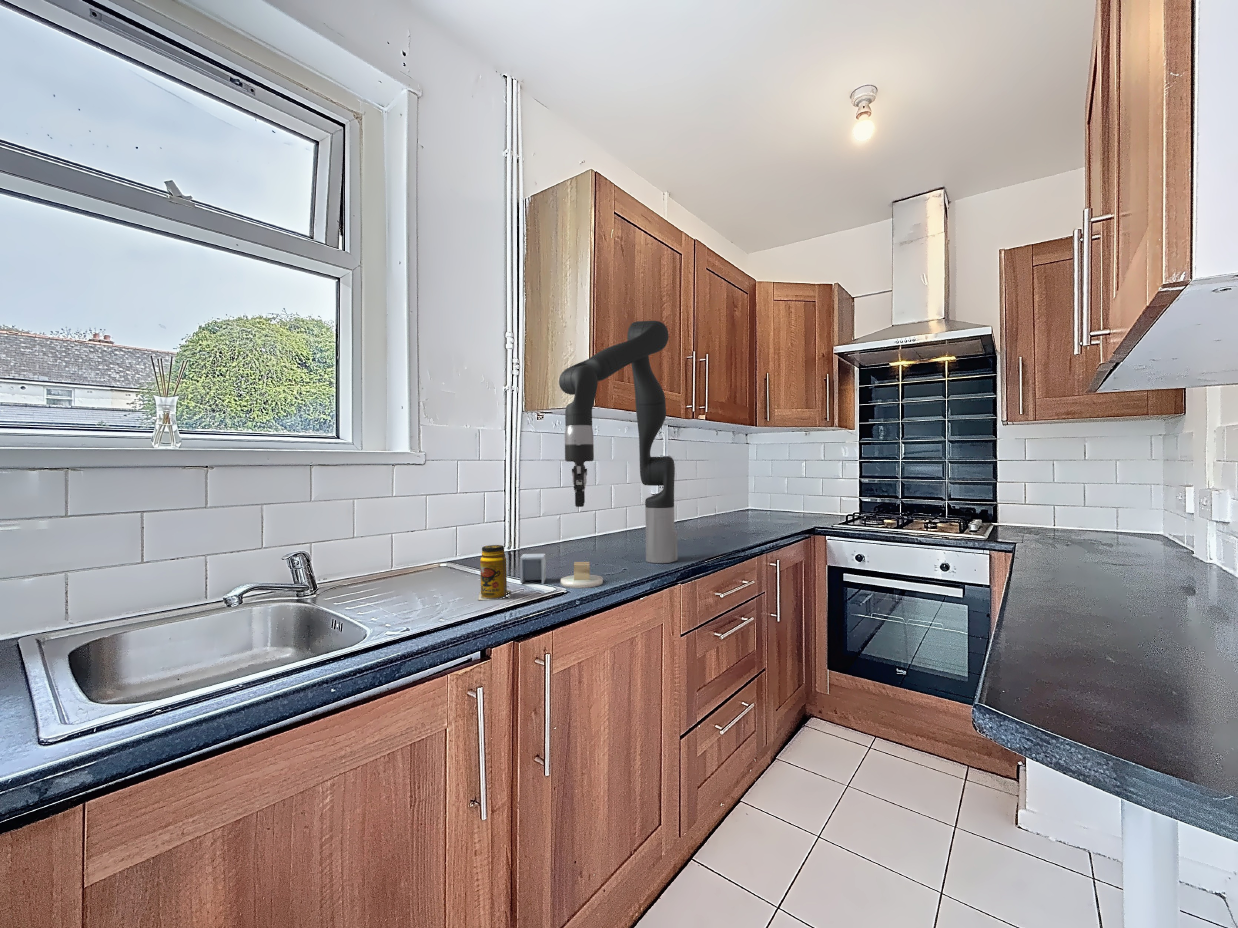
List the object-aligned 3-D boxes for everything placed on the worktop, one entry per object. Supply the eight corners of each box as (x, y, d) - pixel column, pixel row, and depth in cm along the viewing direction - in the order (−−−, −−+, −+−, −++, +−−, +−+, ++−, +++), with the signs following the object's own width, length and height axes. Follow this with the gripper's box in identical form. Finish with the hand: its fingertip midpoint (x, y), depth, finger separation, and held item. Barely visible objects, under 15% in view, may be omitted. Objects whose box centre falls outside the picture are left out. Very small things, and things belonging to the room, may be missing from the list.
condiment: (478, 600, 129) (477, 548, 129) (479, 592, 137) (479, 543, 137) (510, 598, 130) (509, 547, 130) (510, 590, 138) (509, 542, 138)
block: (574, 577, 148) (574, 562, 148) (589, 576, 148) (589, 561, 148) (574, 580, 144) (573, 564, 144) (589, 580, 144) (589, 564, 144)
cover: (523, 579, 151) (523, 553, 151) (545, 579, 152) (545, 553, 152) (520, 584, 145) (520, 557, 145) (543, 583, 146) (543, 557, 146)
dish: (589, 577, 153) (589, 572, 153) (610, 584, 144) (610, 579, 144) (553, 582, 147) (553, 577, 147) (573, 589, 138) (573, 584, 138)
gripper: (566, 444, 153) (567, 503, 153) (563, 442, 138) (564, 507, 139) (593, 443, 153) (594, 502, 153) (593, 442, 139) (594, 507, 139)
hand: (580, 505), depth 146 cm, fingers open, 8 cm apart
